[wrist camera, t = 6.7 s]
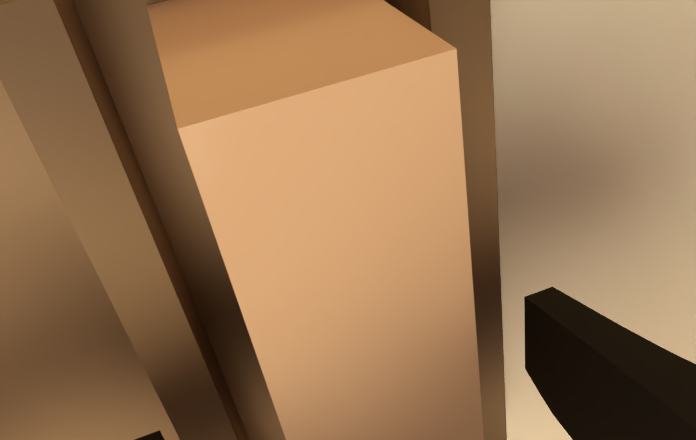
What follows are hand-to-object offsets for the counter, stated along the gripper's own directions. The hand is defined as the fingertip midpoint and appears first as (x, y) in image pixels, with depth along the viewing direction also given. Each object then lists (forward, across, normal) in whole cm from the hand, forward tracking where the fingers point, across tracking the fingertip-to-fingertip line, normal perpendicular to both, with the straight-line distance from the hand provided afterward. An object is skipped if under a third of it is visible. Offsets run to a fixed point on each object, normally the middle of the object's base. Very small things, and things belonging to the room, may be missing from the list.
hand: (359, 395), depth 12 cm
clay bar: (+3, 0, 0) cm, 3 cm away
